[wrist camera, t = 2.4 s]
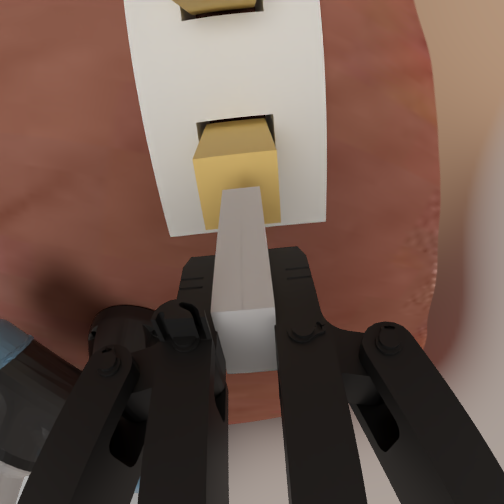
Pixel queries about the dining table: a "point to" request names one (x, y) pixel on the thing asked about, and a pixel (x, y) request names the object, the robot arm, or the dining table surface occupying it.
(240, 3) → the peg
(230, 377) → the dining table surface
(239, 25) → the socket block
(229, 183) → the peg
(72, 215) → the dining table surface
